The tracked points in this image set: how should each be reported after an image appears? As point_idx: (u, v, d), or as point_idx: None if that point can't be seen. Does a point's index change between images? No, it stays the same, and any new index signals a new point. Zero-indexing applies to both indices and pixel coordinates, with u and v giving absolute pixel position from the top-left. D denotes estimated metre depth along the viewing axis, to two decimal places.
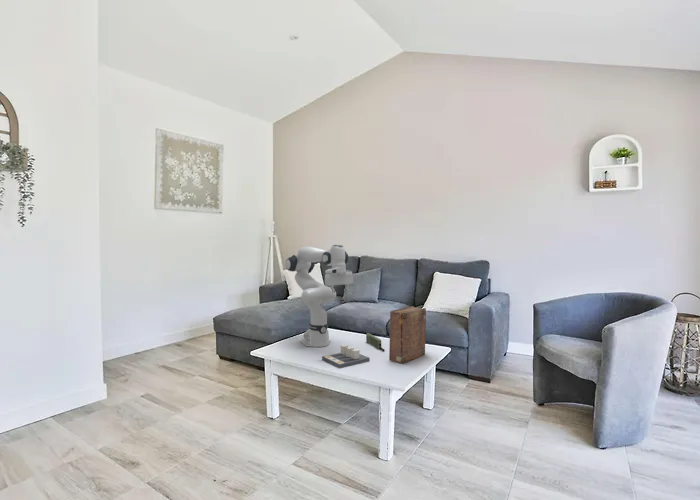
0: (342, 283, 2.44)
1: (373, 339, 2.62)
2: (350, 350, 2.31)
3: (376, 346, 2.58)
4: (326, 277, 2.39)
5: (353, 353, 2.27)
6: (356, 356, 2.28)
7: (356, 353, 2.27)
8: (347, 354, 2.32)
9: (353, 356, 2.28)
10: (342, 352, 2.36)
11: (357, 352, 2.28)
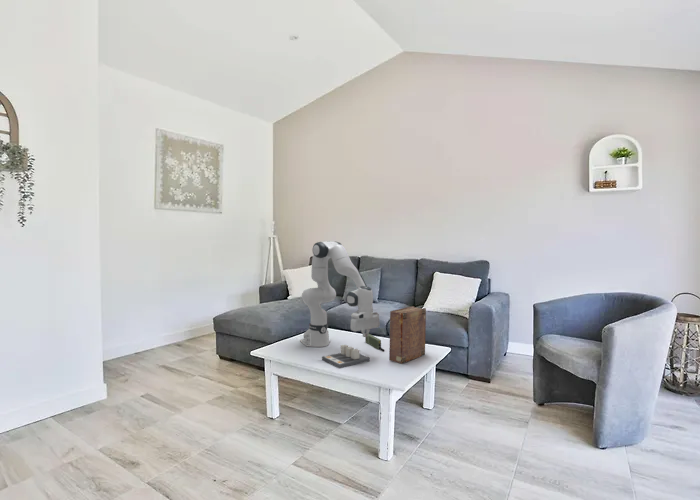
0: (368, 328, 2.32)
1: (372, 339, 2.61)
2: (350, 350, 2.31)
3: (376, 346, 2.57)
4: (352, 322, 2.27)
5: (353, 353, 2.27)
6: (356, 356, 2.28)
7: (356, 353, 2.27)
8: (347, 354, 2.32)
9: (353, 356, 2.28)
10: (342, 352, 2.36)
11: (357, 352, 2.28)
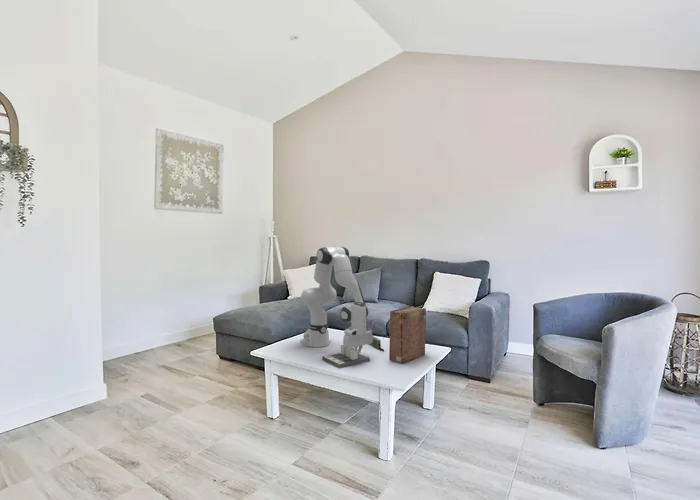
0: (361, 344, 2.29)
1: None
2: None
3: (375, 346, 2.57)
4: (345, 339, 2.24)
5: (351, 354, 2.27)
6: (355, 356, 2.27)
7: (354, 353, 2.26)
8: (347, 354, 2.32)
9: (351, 356, 2.27)
10: (342, 352, 2.36)
11: (355, 352, 2.27)
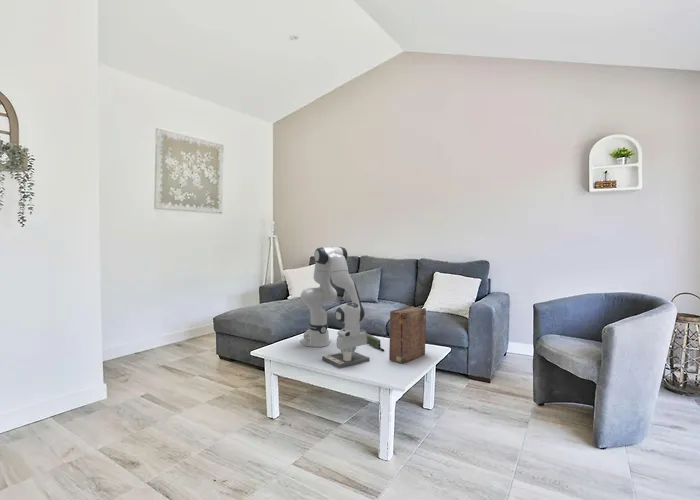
0: (355, 345, 2.26)
1: (372, 339, 2.61)
2: None
3: (375, 346, 2.57)
4: (338, 340, 2.21)
5: (345, 355, 2.24)
6: (348, 358, 2.24)
7: (348, 355, 2.24)
8: None
9: (345, 358, 2.24)
10: (342, 352, 2.36)
11: (349, 354, 2.24)
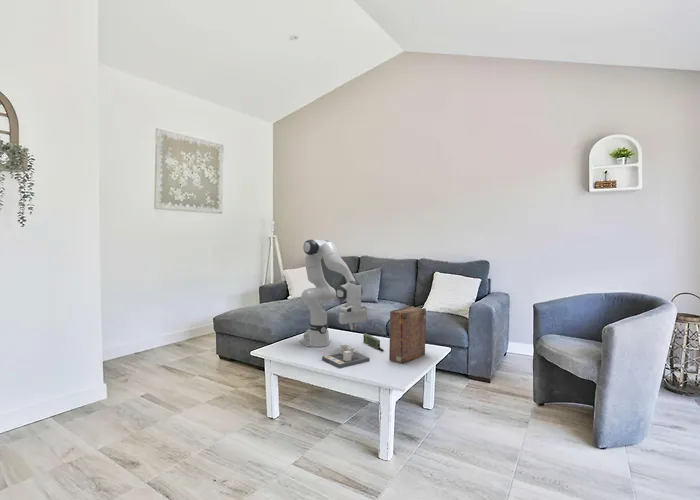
0: (356, 321, 2.40)
1: (371, 339, 2.61)
2: (350, 350, 2.31)
3: (375, 346, 2.57)
4: (340, 315, 2.35)
5: (345, 355, 2.24)
6: (348, 358, 2.24)
7: (348, 355, 2.24)
8: None
9: (345, 358, 2.24)
10: (342, 352, 2.36)
11: (349, 354, 2.24)
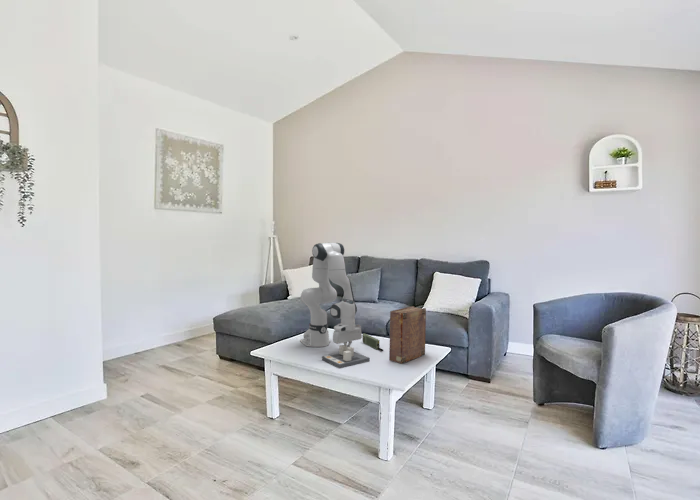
0: (350, 340, 2.38)
1: (370, 339, 2.61)
2: (350, 350, 2.31)
3: (374, 346, 2.57)
4: (335, 334, 2.33)
5: (345, 355, 2.24)
6: (348, 358, 2.24)
7: (348, 355, 2.24)
8: None
9: (345, 358, 2.24)
10: (341, 352, 2.36)
11: (349, 354, 2.24)
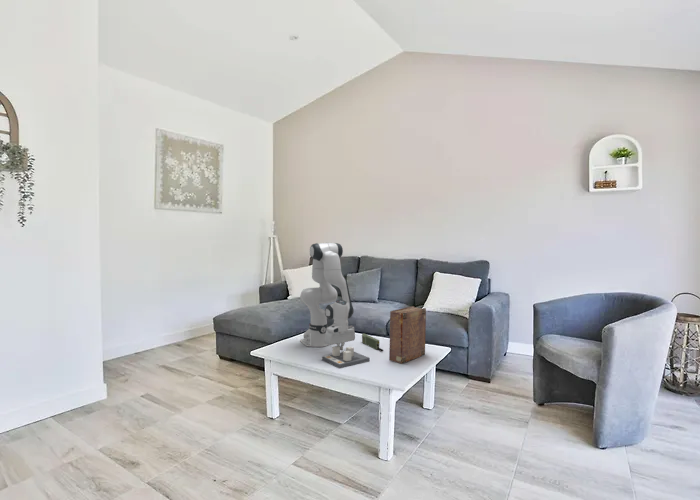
0: (343, 341, 2.35)
1: (370, 340, 2.60)
2: (350, 350, 2.31)
3: (374, 346, 2.57)
4: (327, 336, 2.30)
5: (345, 355, 2.24)
6: (348, 358, 2.24)
7: (348, 355, 2.24)
8: None
9: (345, 358, 2.24)
10: (334, 354, 2.33)
11: (349, 354, 2.24)
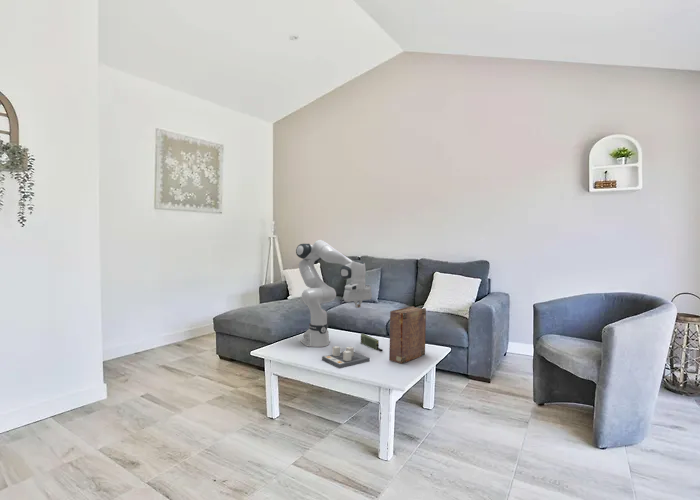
0: (361, 299, 2.45)
1: (369, 340, 2.60)
2: (350, 350, 2.31)
3: (373, 347, 2.56)
4: (346, 293, 2.40)
5: (345, 355, 2.24)
6: (348, 358, 2.24)
7: (348, 355, 2.24)
8: None
9: (345, 358, 2.24)
10: (334, 354, 2.33)
11: (349, 354, 2.24)
